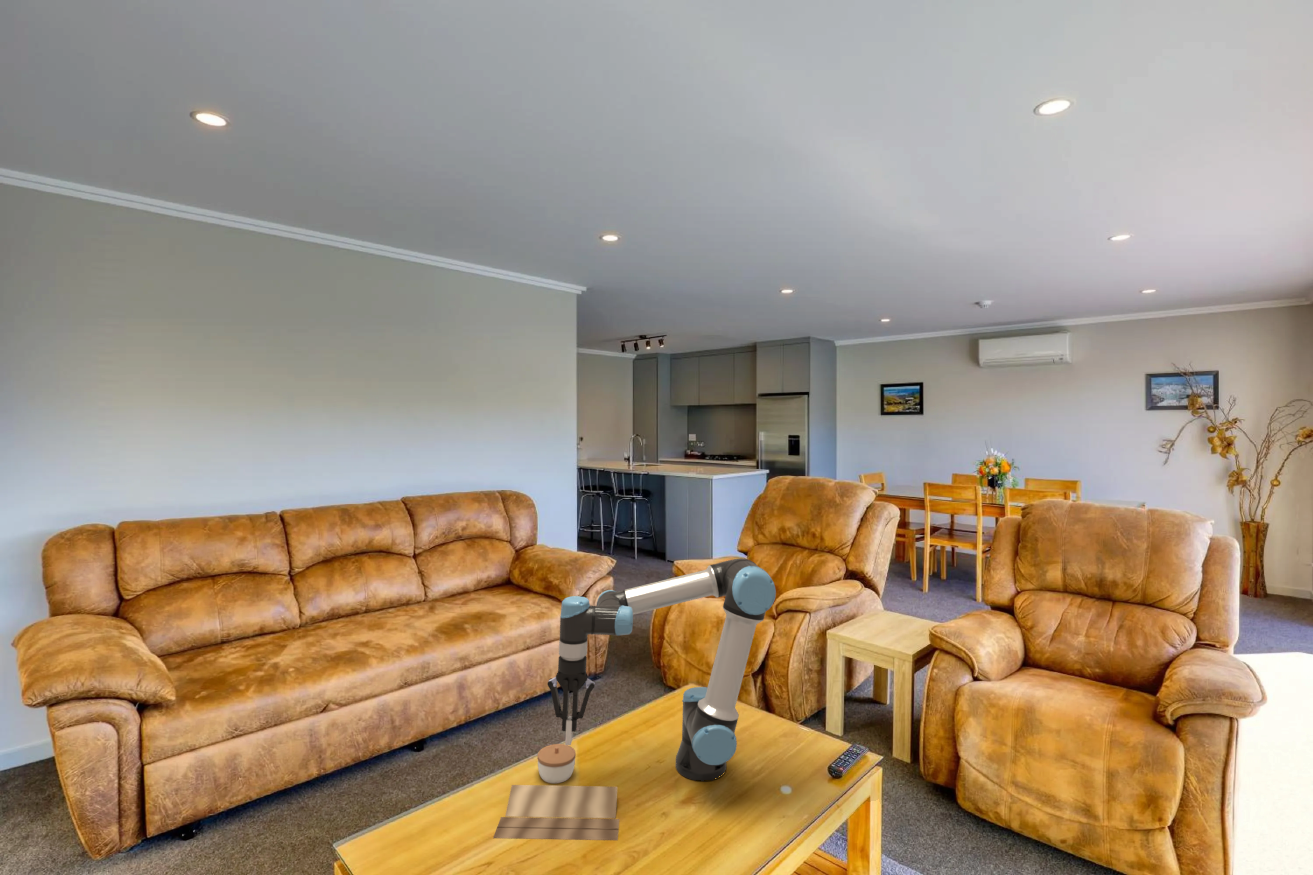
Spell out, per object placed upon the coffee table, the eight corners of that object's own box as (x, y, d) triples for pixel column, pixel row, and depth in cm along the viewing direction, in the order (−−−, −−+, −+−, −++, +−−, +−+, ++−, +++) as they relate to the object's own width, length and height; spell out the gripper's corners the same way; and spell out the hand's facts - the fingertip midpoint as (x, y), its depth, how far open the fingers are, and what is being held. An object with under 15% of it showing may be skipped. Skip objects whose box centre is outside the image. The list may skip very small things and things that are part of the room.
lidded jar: (567, 793, 168) (568, 759, 168) (530, 788, 170) (531, 754, 170) (580, 772, 179) (580, 740, 179) (545, 767, 181) (546, 735, 181)
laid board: (619, 824, 155) (619, 818, 155) (617, 846, 147) (617, 839, 147) (500, 822, 155) (501, 816, 155) (492, 844, 147) (492, 837, 147)
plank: (617, 789, 163) (617, 786, 163) (615, 821, 156) (615, 818, 156) (512, 787, 163) (511, 784, 162) (505, 819, 156) (505, 816, 155)
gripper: (598, 651, 169) (594, 736, 169) (551, 649, 169) (547, 734, 169) (595, 661, 161) (591, 750, 161) (546, 659, 161) (541, 748, 161)
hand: (568, 742), depth 165 cm, fingers closed
